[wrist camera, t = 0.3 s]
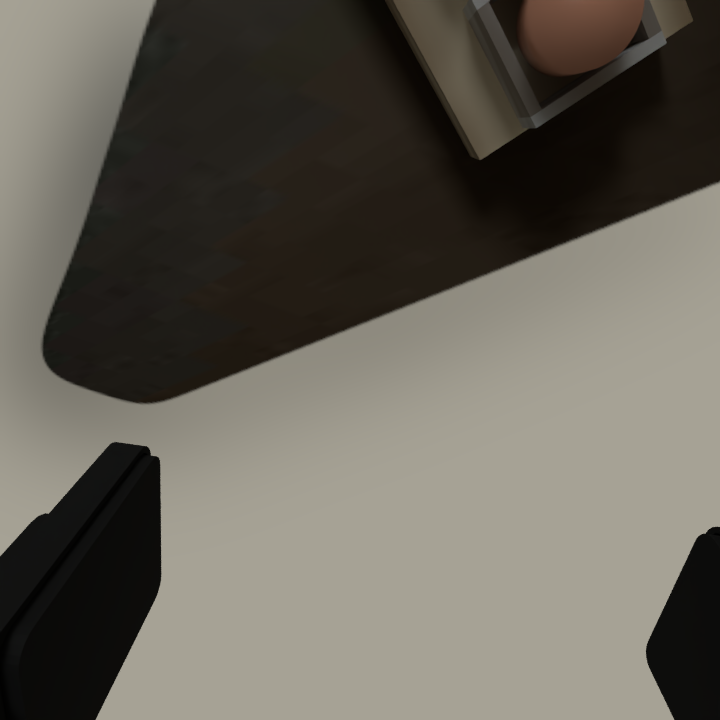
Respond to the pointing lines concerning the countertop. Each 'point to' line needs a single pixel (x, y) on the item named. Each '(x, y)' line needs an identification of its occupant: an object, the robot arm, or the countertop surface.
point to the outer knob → (575, 33)
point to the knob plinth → (508, 64)
